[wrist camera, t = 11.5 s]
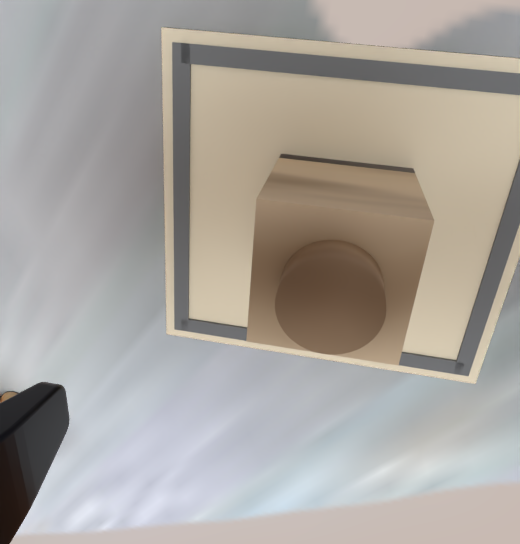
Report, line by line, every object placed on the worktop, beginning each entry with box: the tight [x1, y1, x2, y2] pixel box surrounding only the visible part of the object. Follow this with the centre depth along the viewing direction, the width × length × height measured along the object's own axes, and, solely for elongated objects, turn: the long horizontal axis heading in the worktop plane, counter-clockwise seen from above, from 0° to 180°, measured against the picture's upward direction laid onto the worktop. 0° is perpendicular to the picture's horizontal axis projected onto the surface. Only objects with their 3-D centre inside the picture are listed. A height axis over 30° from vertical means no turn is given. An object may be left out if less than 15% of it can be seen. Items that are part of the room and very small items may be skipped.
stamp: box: [246, 154, 434, 366], centre depth 15 cm, size 4×4×6 cm
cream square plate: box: [161, 27, 520, 384], centre depth 18 cm, size 13×12×1 cm
